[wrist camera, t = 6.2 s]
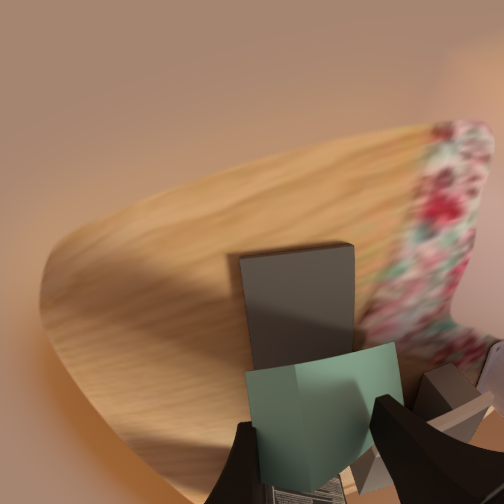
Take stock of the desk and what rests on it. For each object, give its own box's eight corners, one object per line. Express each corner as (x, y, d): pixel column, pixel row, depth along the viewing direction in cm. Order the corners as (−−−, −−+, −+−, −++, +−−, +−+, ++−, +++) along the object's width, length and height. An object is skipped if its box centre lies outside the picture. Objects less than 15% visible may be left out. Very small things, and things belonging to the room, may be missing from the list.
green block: (294, 364, 8) (311, 492, 6) (394, 341, 15) (404, 413, 13) (244, 371, 10) (260, 483, 8) (361, 350, 16) (370, 418, 14)
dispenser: (453, 354, 17) (495, 396, 11) (434, 411, 19) (463, 452, 13) (349, 386, 17) (378, 450, 11) (341, 441, 19) (359, 496, 13)
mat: (350, 243, 15) (354, 246, 14) (344, 404, 17) (346, 409, 17) (239, 256, 15) (239, 259, 14) (262, 417, 18) (262, 423, 17)
